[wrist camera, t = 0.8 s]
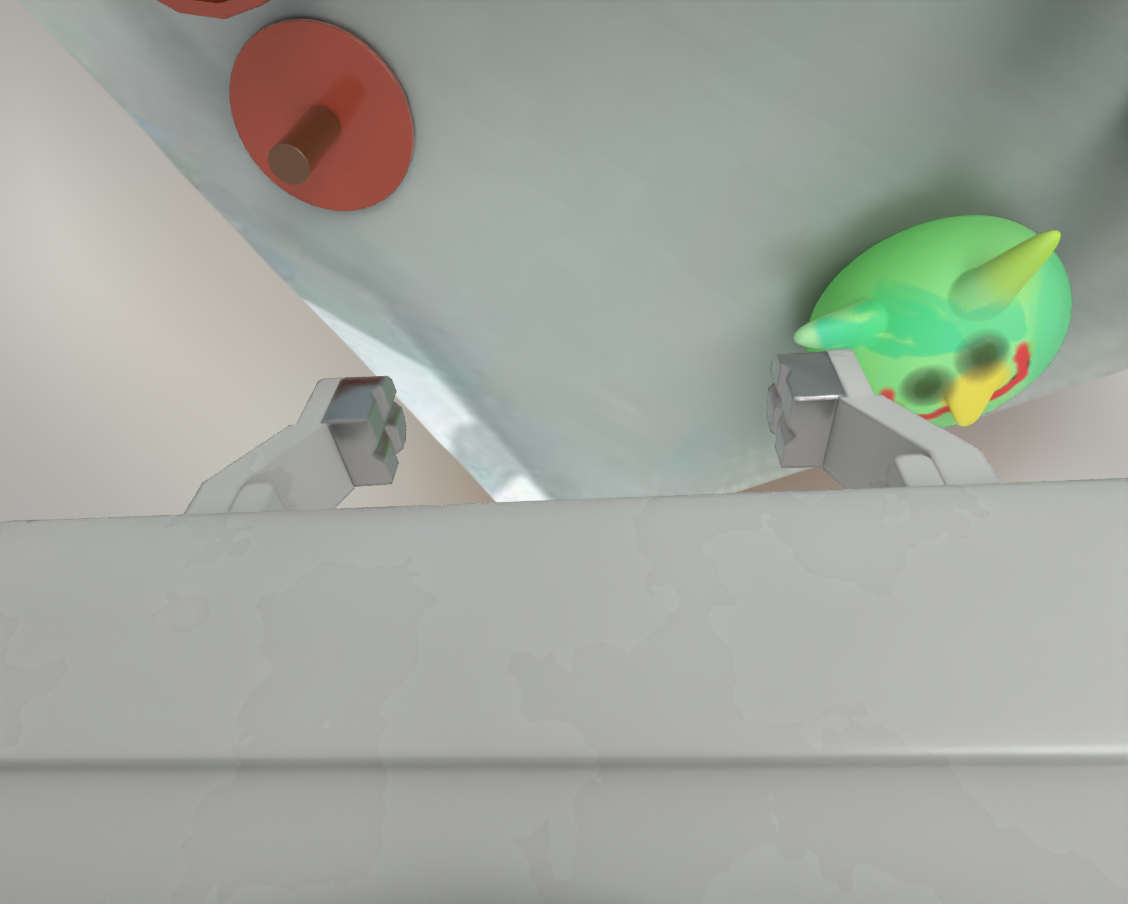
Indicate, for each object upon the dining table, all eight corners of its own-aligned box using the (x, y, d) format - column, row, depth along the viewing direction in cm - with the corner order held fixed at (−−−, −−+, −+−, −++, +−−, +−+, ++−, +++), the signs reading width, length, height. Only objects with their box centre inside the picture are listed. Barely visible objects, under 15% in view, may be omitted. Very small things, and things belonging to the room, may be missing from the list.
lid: (197, 49, 46) (135, 88, 40) (365, -11, 43) (326, 20, 37) (297, 222, 55) (259, 276, 48) (443, 180, 52) (422, 232, 46)
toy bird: (830, 391, 65) (877, 505, 54) (753, 259, 56) (790, 367, 45) (1037, 295, 57) (1139, 407, 47) (987, 124, 48) (1099, 215, 37)
